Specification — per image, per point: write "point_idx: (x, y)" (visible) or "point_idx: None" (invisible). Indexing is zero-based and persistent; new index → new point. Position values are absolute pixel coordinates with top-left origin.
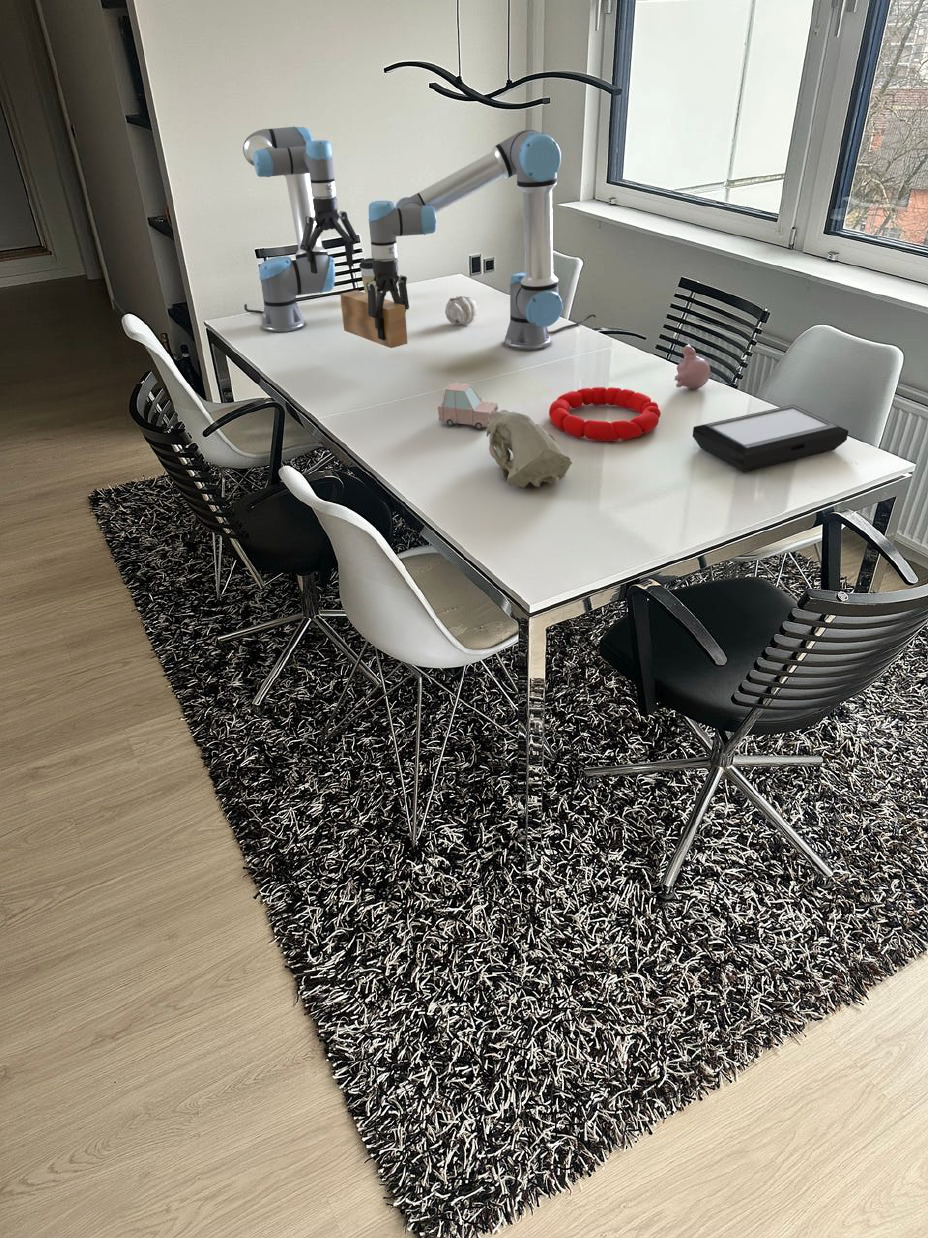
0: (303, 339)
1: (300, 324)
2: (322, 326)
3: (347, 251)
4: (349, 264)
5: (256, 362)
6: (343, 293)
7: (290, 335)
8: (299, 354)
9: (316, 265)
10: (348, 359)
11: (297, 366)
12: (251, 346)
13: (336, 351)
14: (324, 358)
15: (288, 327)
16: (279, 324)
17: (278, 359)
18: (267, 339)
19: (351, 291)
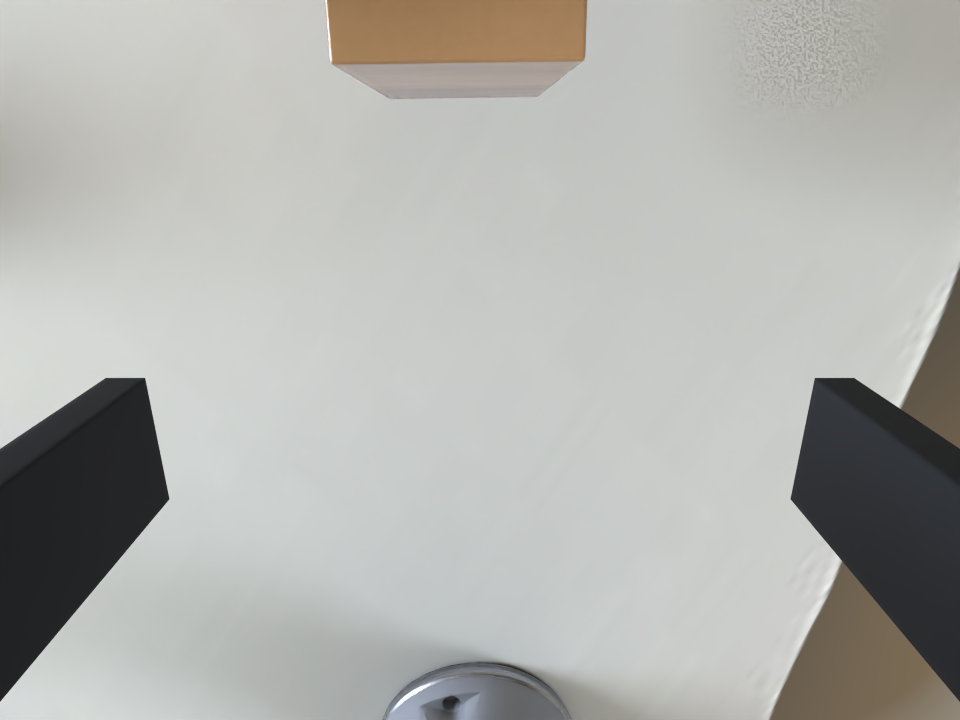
0: (517, 531)
1: (432, 683)
2: (337, 632)
3: (3, 601)
4: (144, 439)
5: (892, 390)
6: (543, 47)
7: (527, 618)
8: (672, 348)
9: (894, 430)
10: None
11: (805, 181)
12: (750, 600)
13: (503, 251)
14: (621, 193)
15: (503, 679)
16: (539, 710)
17: (793, 354)
18: (638, 635)
19: (416, 53)
